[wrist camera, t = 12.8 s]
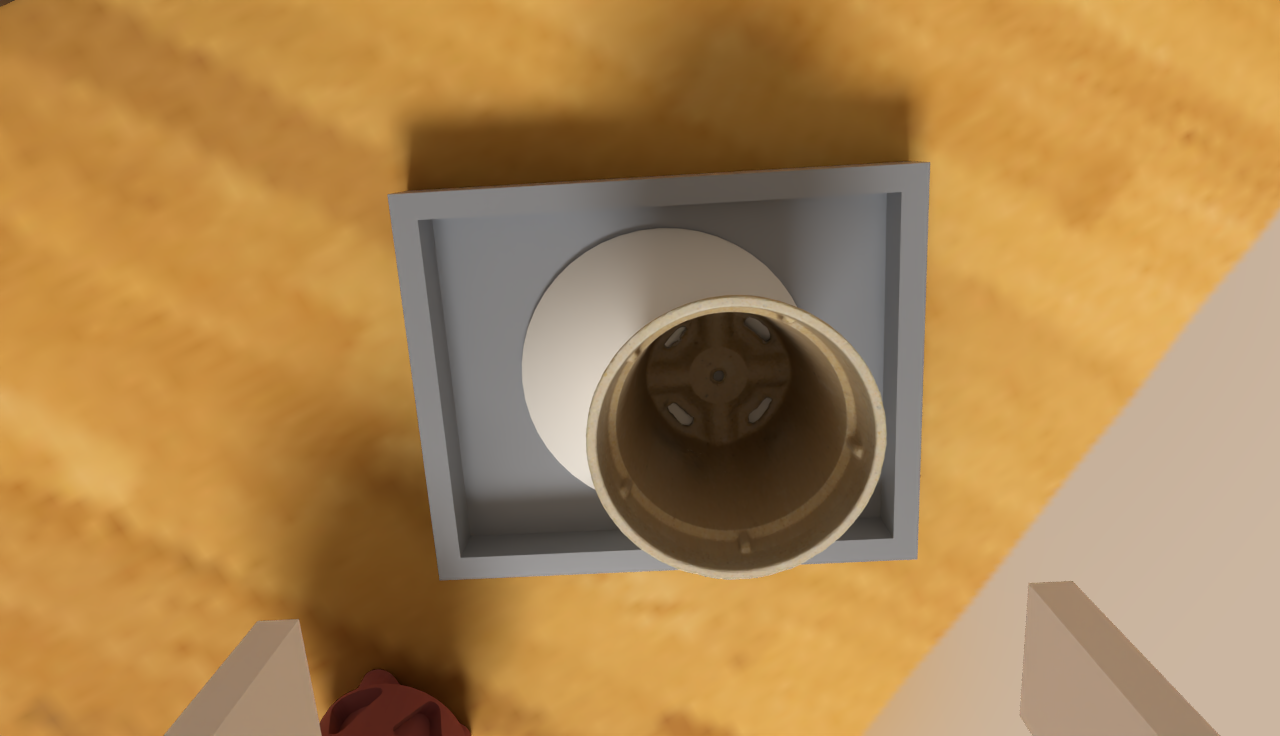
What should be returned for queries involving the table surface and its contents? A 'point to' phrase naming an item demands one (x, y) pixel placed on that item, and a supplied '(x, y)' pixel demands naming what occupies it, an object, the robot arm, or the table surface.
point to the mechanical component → (389, 711)
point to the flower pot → (736, 438)
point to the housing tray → (618, 308)
